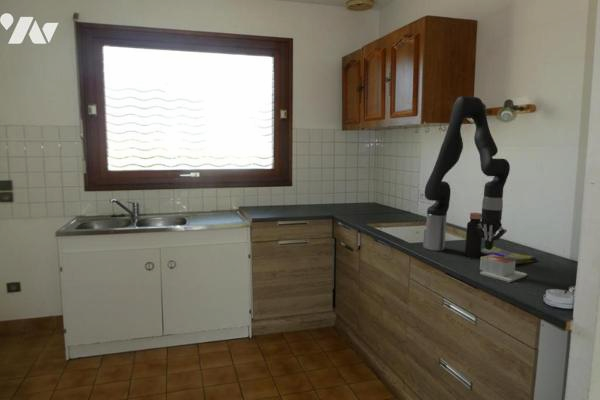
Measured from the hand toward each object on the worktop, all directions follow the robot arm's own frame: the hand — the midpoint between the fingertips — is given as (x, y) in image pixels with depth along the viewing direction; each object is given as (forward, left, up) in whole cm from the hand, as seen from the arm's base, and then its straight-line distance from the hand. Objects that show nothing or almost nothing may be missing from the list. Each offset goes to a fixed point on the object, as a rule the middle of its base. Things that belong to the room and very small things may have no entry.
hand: (488, 249), depth 177 cm
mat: (+7, 0, -9) cm, 11 cm away
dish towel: (-7, +27, -10) cm, 29 cm away
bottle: (-16, +16, -9) cm, 24 cm away
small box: (-1, 0, -6) cm, 6 cm away
